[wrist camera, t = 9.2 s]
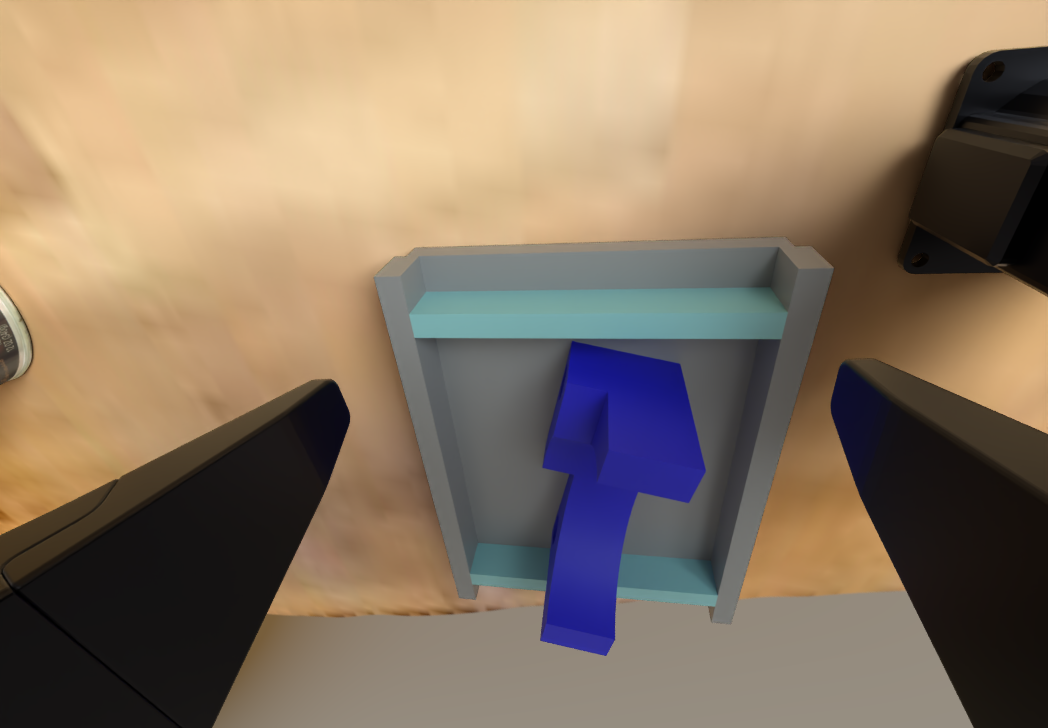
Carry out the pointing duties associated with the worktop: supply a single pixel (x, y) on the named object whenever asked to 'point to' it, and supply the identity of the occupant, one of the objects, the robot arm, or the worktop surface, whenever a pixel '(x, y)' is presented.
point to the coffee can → (12, 341)
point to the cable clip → (610, 479)
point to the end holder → (536, 374)
